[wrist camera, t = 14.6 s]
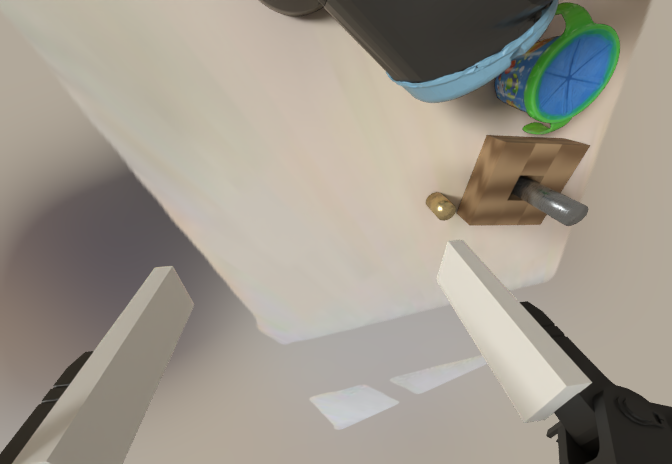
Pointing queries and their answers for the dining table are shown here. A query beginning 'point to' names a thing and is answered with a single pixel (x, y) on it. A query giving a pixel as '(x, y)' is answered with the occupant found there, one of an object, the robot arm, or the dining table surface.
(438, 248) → the dining table surface
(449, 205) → the short brass pin
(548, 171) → the hole block
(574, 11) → the snack cup
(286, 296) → the dining table surface
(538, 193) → the long steel pin
